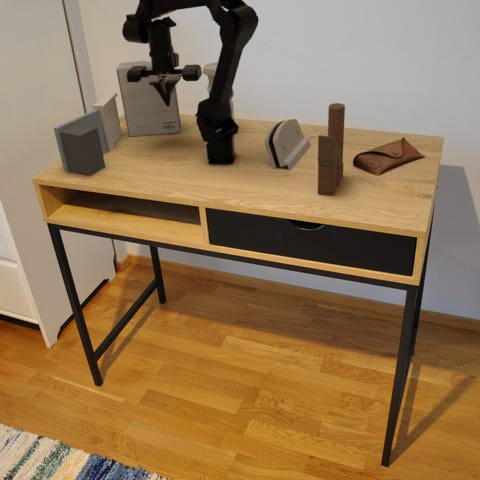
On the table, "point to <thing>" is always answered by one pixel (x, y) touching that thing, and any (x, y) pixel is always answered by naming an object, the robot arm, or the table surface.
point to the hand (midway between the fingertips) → (168, 105)
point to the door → (87, 119)
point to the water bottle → (210, 72)
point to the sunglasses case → (386, 157)
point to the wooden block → (331, 151)
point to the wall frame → (109, 118)
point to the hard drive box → (146, 104)
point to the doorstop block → (83, 149)
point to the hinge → (286, 144)
